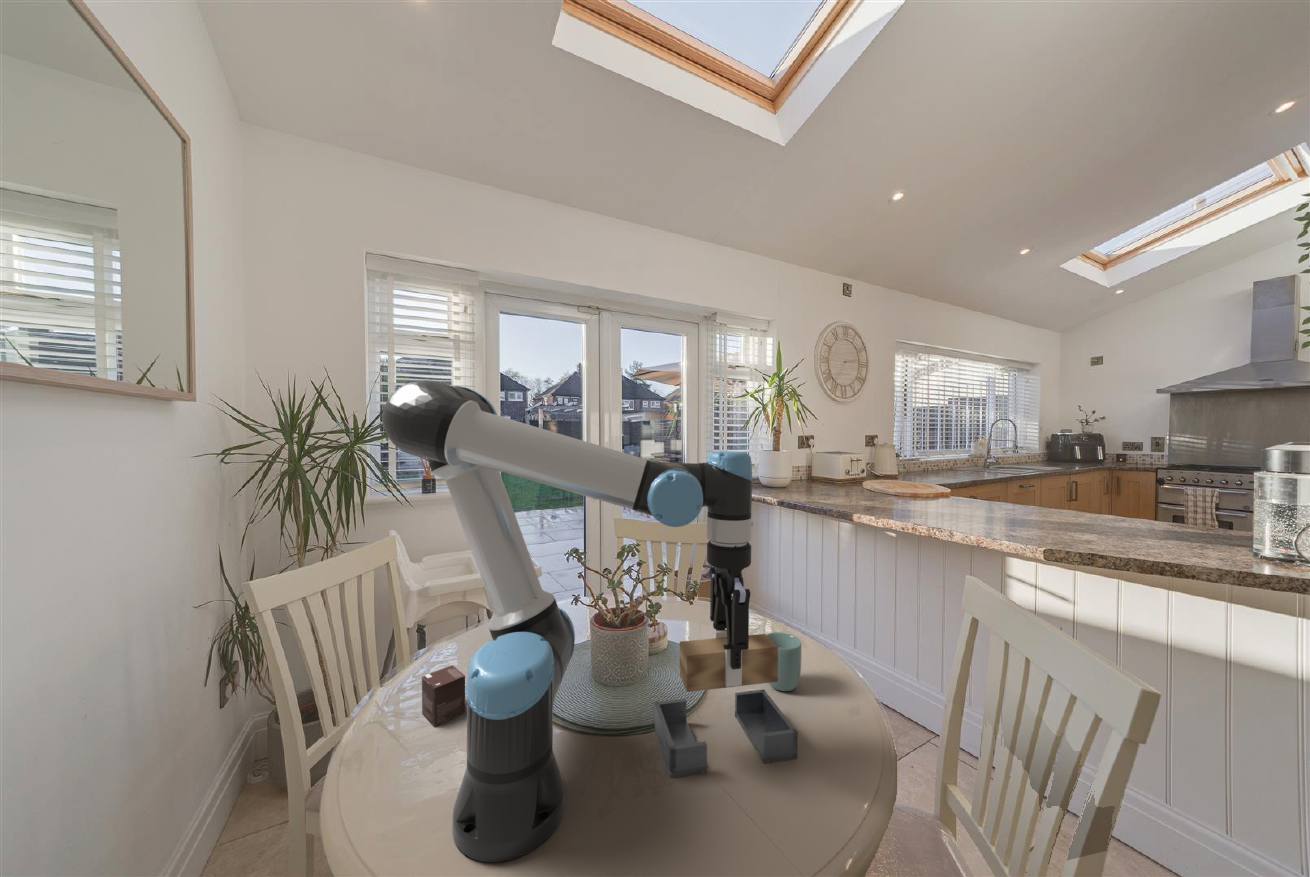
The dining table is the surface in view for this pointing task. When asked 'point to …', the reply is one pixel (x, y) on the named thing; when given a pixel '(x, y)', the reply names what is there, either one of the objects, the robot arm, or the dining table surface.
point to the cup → (787, 660)
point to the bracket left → (678, 740)
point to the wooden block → (707, 663)
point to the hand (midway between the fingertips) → (727, 675)
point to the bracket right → (766, 726)
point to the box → (443, 695)
